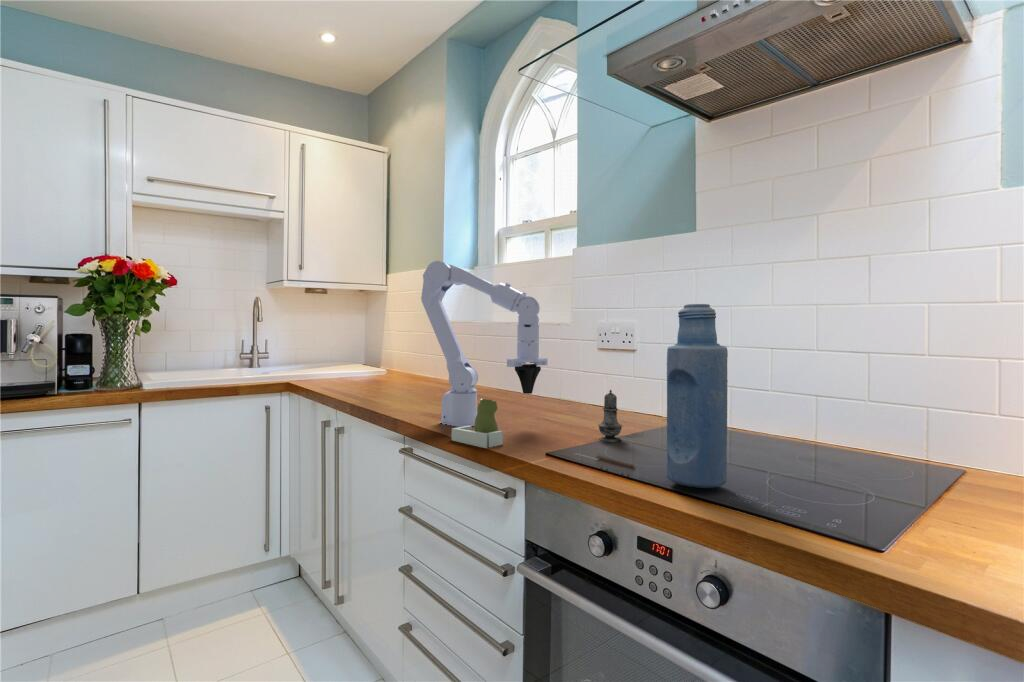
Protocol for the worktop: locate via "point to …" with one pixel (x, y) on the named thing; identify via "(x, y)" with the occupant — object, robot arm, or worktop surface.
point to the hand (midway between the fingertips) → (527, 393)
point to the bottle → (697, 401)
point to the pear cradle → (477, 437)
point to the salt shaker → (610, 419)
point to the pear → (486, 416)
